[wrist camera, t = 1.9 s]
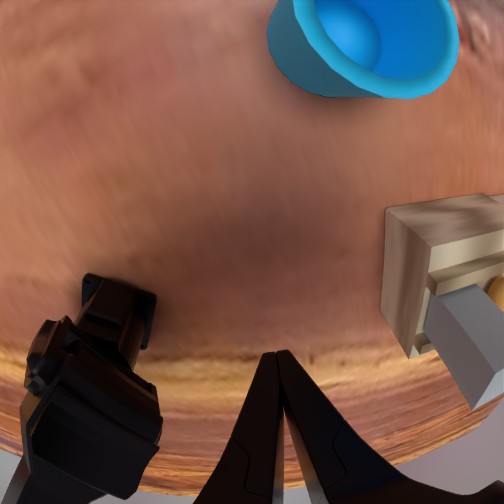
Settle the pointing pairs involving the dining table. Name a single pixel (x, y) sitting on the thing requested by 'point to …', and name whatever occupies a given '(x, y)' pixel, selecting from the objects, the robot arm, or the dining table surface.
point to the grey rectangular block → (469, 341)
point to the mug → (364, 46)
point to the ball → (497, 292)
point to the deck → (437, 259)
